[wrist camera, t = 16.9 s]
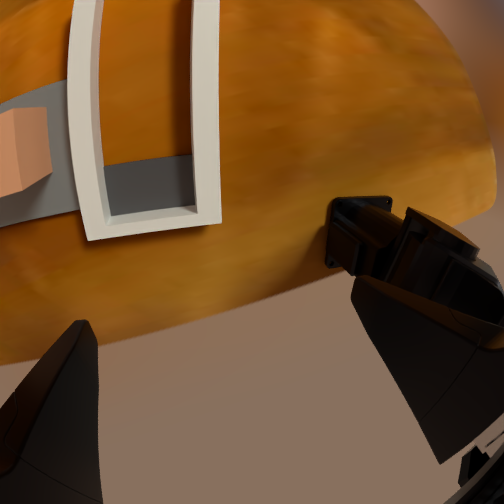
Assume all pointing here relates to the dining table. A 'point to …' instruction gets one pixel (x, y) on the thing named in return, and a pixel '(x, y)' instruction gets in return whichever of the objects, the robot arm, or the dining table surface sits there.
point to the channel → (151, 170)
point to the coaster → (62, 178)
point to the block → (23, 148)
